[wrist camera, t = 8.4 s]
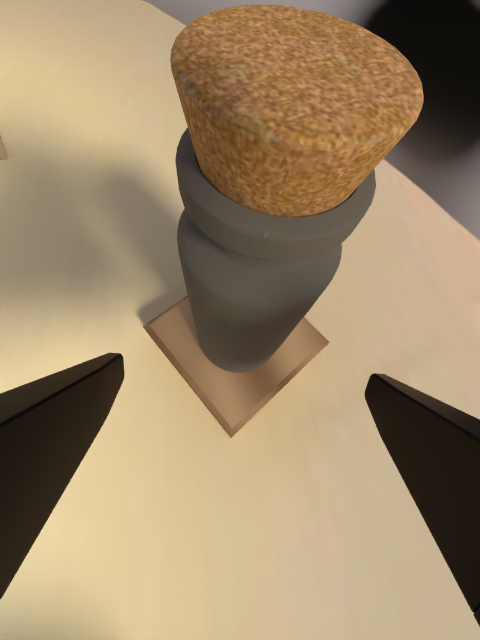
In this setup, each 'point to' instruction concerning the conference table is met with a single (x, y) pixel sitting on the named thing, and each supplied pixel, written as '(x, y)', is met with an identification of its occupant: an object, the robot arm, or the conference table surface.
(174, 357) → the plinth
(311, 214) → the bottle
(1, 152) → the award
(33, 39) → the conference table surface
